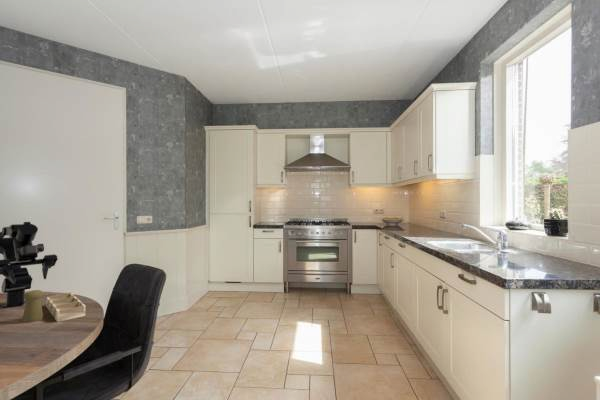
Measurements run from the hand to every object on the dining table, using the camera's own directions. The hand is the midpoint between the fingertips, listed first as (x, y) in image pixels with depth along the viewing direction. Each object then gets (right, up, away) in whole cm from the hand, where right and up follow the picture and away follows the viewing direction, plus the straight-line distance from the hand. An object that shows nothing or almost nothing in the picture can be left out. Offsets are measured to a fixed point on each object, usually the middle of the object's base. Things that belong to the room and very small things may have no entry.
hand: (30, 281), depth 117 cm
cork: (+5, -14, -5) cm, 15 cm away
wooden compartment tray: (+10, -14, +5) cm, 18 cm away
